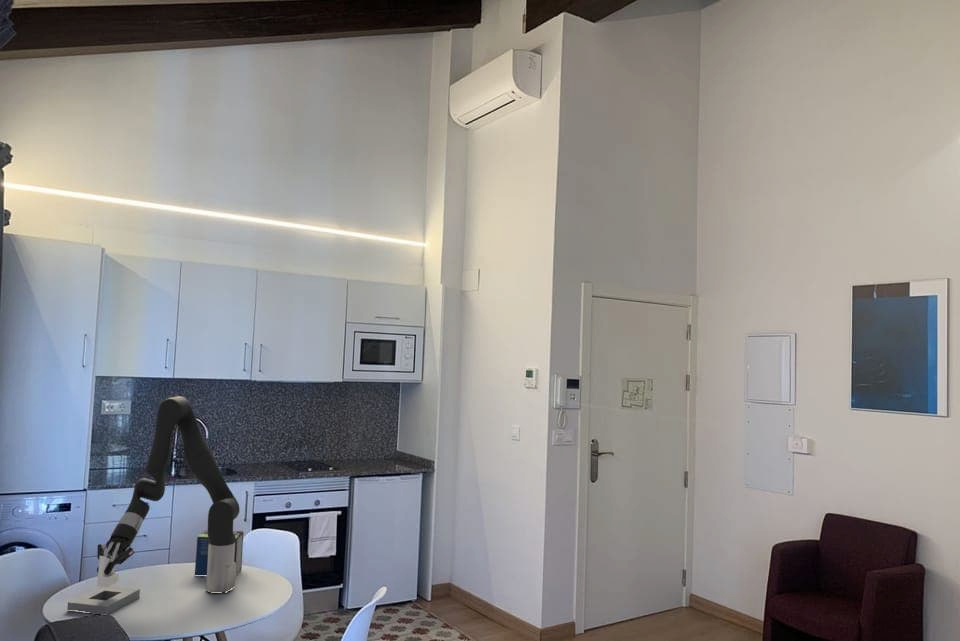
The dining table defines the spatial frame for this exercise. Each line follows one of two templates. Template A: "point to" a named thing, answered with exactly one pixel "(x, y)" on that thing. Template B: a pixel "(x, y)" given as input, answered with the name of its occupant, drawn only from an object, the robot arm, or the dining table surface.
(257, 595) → the dining table surface
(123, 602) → the socket plate
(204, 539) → the protein box
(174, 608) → the dining table surface
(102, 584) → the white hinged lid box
